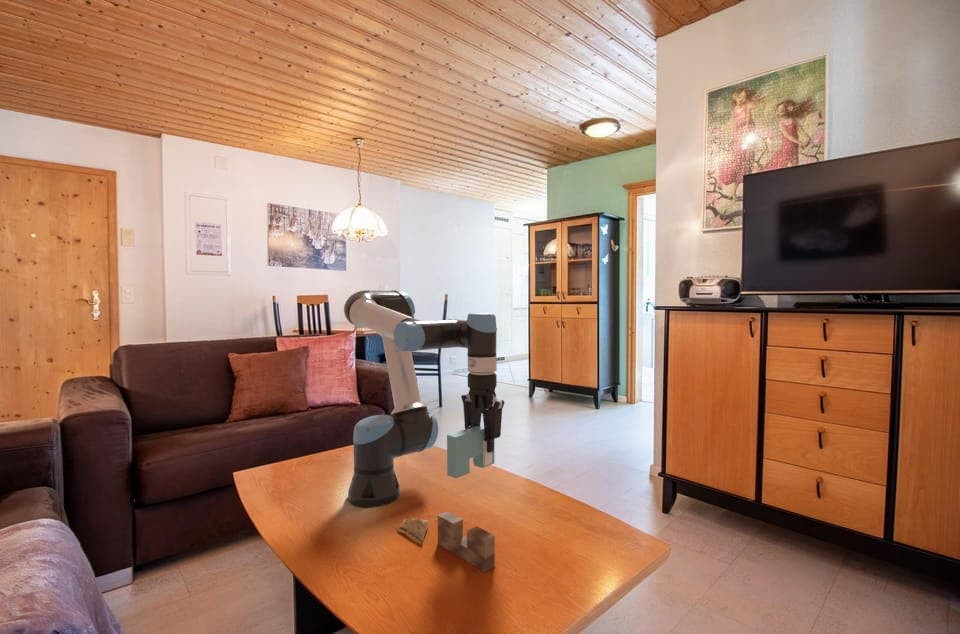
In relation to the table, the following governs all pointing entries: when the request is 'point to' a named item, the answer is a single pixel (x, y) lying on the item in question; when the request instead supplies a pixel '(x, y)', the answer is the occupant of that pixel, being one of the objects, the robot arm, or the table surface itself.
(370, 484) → the robot arm
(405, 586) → the table surface
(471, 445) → the teal board
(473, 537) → the walnut board
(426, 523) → the shard
